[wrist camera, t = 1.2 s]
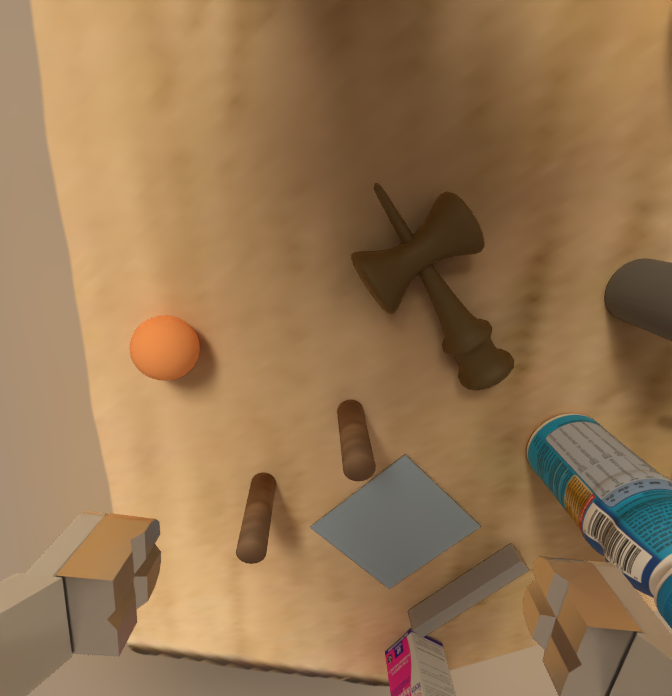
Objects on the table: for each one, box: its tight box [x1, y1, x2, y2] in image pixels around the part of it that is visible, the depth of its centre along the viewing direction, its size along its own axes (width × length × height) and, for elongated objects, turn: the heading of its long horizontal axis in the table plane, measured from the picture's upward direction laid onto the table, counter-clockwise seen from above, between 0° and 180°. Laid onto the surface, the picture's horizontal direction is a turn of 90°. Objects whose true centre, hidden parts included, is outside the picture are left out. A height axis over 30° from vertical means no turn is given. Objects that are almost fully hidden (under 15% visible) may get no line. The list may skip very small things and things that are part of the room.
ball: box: [130, 316, 200, 380], centre depth 34 cm, size 6×6×6 cm
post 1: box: [236, 473, 276, 564], centre depth 39 cm, size 3×3×9 cm
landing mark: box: [311, 455, 481, 589], centre depth 46 cm, size 14×14×1 cm
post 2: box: [337, 400, 375, 481], centre depth 36 cm, size 3×3×9 cm
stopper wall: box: [408, 543, 529, 638], centre depth 49 cm, size 2×16×2 cm, turn 133°
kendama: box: [351, 183, 514, 390], centre depth 34 cm, size 6×10×20 cm
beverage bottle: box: [527, 413, 672, 628], centre depth 34 cm, size 8×8×20 cm
